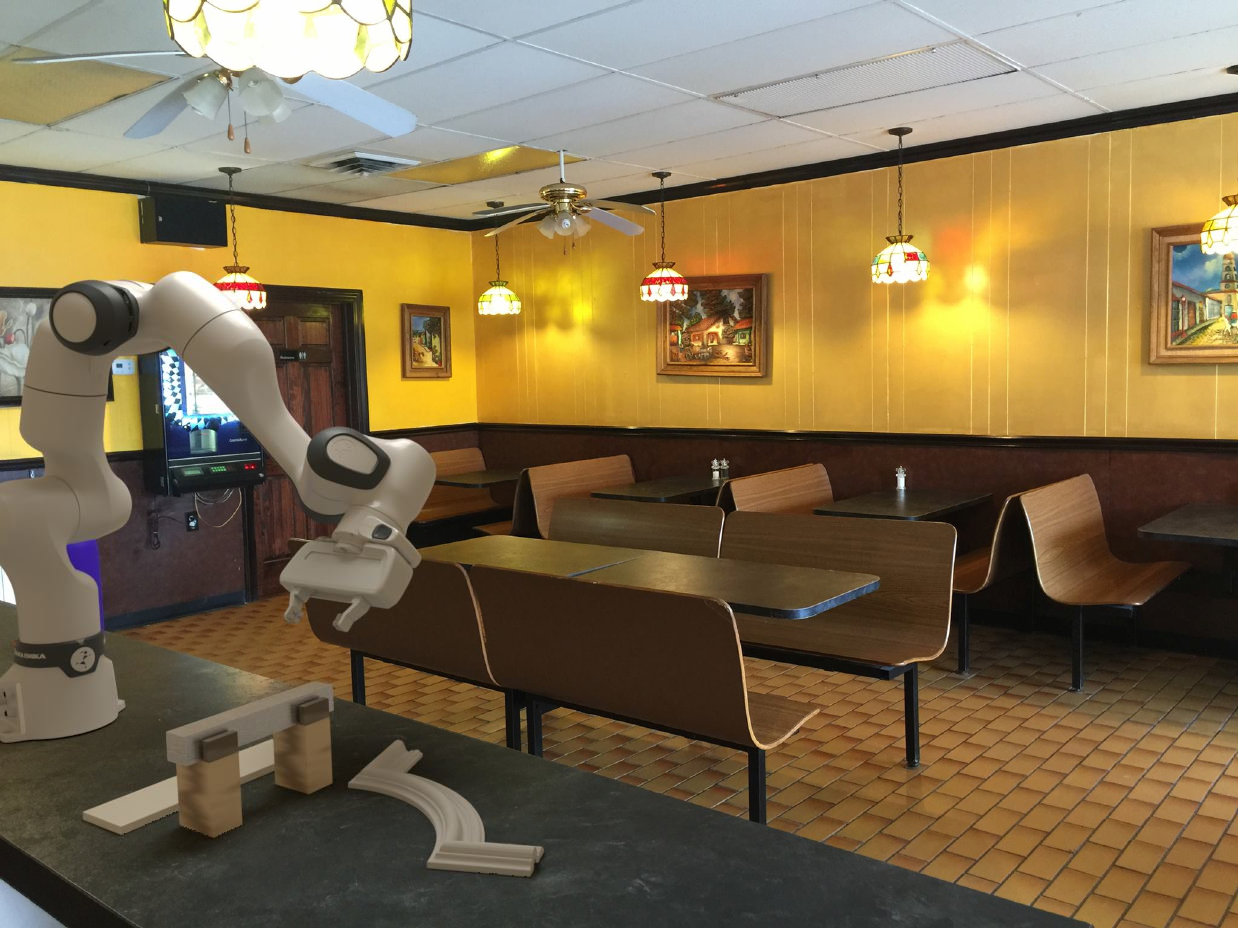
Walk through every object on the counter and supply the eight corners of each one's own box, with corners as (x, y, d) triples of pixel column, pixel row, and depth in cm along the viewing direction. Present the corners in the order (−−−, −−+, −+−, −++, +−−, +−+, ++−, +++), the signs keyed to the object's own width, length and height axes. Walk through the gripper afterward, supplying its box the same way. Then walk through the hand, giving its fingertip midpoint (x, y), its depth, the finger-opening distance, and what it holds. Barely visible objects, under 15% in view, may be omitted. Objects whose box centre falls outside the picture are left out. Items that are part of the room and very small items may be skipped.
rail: (167, 760, 116) (165, 731, 116) (315, 706, 135) (314, 680, 134) (186, 766, 114) (184, 736, 114) (333, 710, 133) (332, 684, 132)
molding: (561, 872, 108) (560, 846, 108) (458, 905, 101) (458, 877, 101) (412, 752, 143) (411, 732, 143) (328, 771, 137) (327, 750, 136)
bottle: (72, 664, 188) (61, 507, 186) (49, 658, 193) (38, 505, 190) (114, 654, 195) (105, 502, 193) (91, 648, 200) (81, 500, 197)
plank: (83, 819, 121) (82, 811, 121) (272, 745, 145) (271, 738, 145) (121, 834, 117) (121, 826, 117) (309, 755, 141) (309, 748, 141)
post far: (275, 783, 131) (271, 699, 130) (299, 773, 135) (295, 690, 134) (308, 794, 128) (304, 706, 127) (332, 782, 131) (328, 698, 130)
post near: (179, 825, 119) (174, 732, 118) (208, 812, 123) (203, 722, 122) (213, 837, 116) (208, 742, 115) (242, 824, 119) (237, 731, 118)
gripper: (301, 522, 142) (247, 603, 135) (407, 532, 132) (354, 620, 124) (327, 548, 147) (276, 628, 139) (431, 559, 136) (382, 646, 129)
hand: (314, 624), depth 132 cm, fingers open, 8 cm apart
